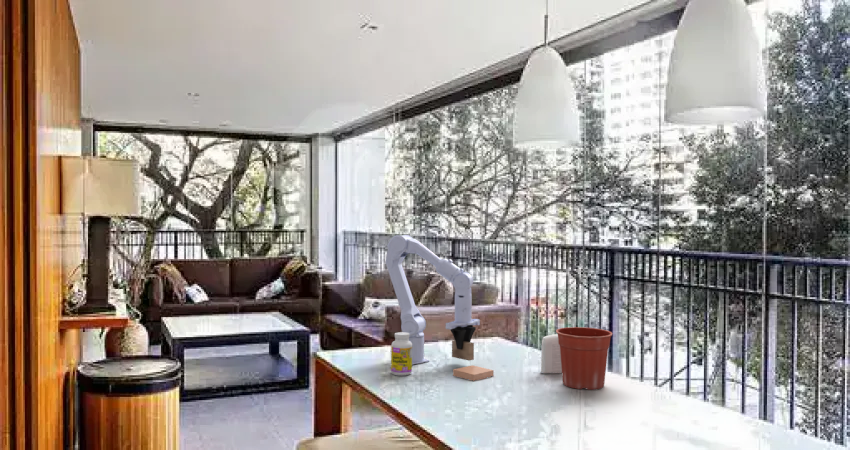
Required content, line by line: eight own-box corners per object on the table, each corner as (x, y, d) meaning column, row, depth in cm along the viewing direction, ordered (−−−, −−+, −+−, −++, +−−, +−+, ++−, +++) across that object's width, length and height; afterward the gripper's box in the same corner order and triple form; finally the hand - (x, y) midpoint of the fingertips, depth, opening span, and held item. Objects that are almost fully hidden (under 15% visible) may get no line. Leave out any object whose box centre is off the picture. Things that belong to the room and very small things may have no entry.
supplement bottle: (388, 375, 206) (388, 334, 206) (394, 370, 213) (394, 331, 213) (408, 376, 205) (409, 335, 205) (414, 372, 211) (414, 332, 211)
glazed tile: (453, 369, 207) (474, 374, 200) (472, 365, 213) (493, 370, 206) (453, 376, 207) (474, 382, 200) (472, 372, 213) (493, 377, 206)
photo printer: (569, 370, 215) (569, 333, 215) (574, 373, 211) (574, 335, 211) (539, 371, 213) (539, 333, 213) (543, 374, 209) (543, 335, 209)
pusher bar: (451, 356, 224) (452, 340, 224) (456, 355, 225) (457, 339, 225) (468, 360, 218) (468, 343, 218) (473, 359, 219) (473, 342, 219)
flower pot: (614, 393, 186) (614, 337, 186) (555, 390, 190) (555, 335, 190) (609, 380, 203) (610, 328, 202) (555, 377, 206) (556, 326, 206)
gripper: (456, 311, 213) (455, 353, 214) (486, 307, 223) (486, 347, 223) (441, 309, 219) (441, 349, 219) (471, 305, 228) (471, 344, 228)
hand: (462, 348), depth 221 cm, fingers closed on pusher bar, 2 cm apart
